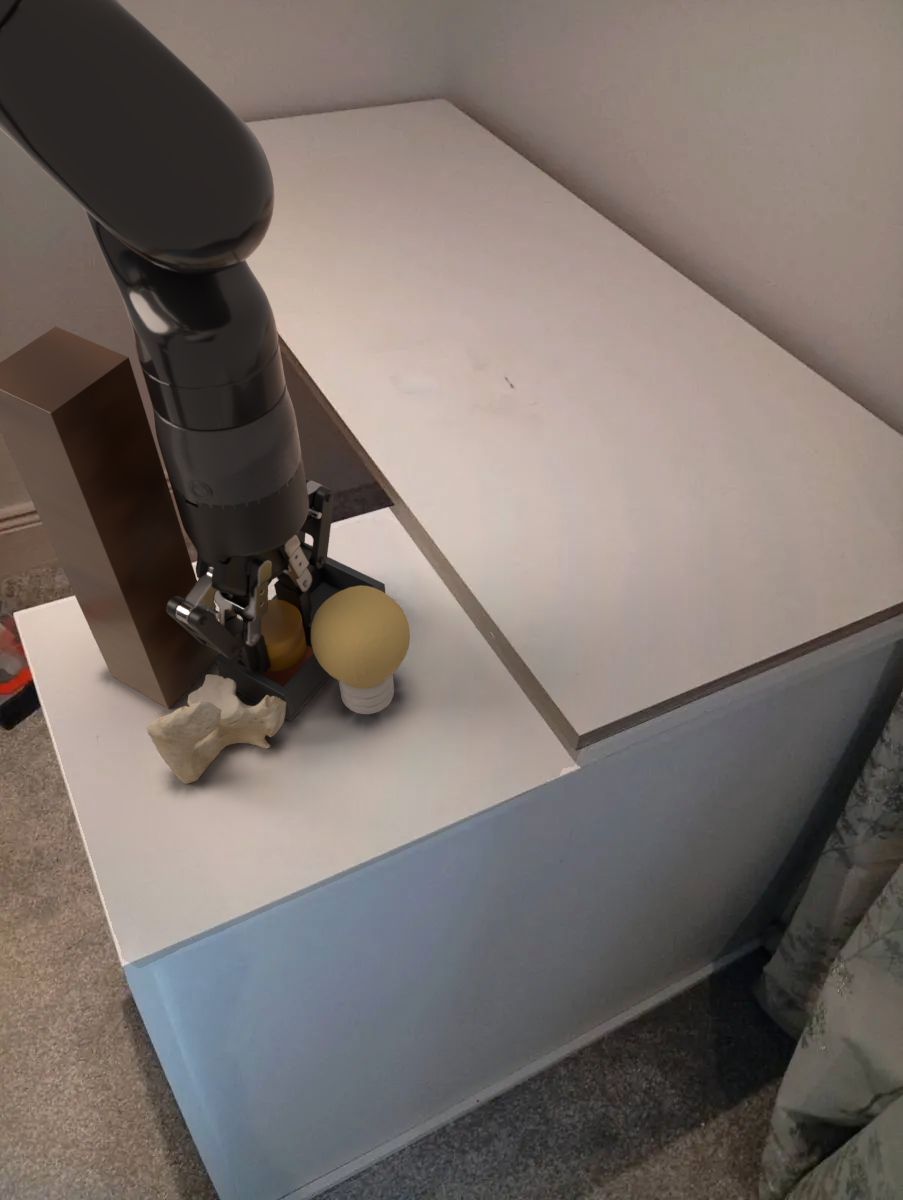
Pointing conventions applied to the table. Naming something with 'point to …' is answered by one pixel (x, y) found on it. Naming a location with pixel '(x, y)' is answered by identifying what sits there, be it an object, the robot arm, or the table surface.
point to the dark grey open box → (308, 673)
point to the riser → (104, 505)
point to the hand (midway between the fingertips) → (276, 643)
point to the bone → (213, 726)
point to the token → (283, 635)
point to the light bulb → (361, 645)
